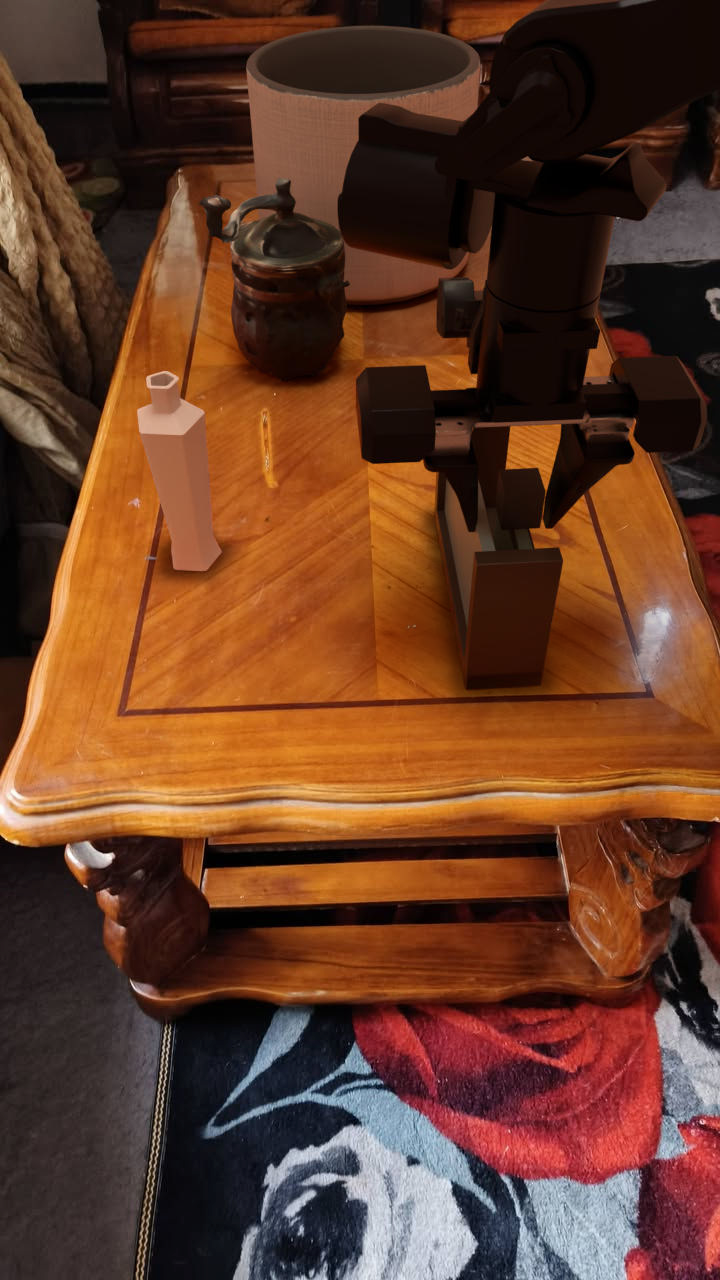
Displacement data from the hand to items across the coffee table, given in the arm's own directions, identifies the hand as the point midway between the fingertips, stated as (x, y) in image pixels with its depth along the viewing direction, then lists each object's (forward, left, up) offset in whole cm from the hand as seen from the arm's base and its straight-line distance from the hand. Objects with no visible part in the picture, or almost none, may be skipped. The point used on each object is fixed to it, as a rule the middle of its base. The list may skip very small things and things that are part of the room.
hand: (509, 526), depth 59 cm
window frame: (0, -4, -10) cm, 10 cm away
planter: (+5, -57, -10) cm, 58 cm away
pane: (0, 0, -8) cm, 8 cm away
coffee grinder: (+14, -36, -10) cm, 40 cm away
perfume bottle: (+21, -10, -10) cm, 25 cm away
